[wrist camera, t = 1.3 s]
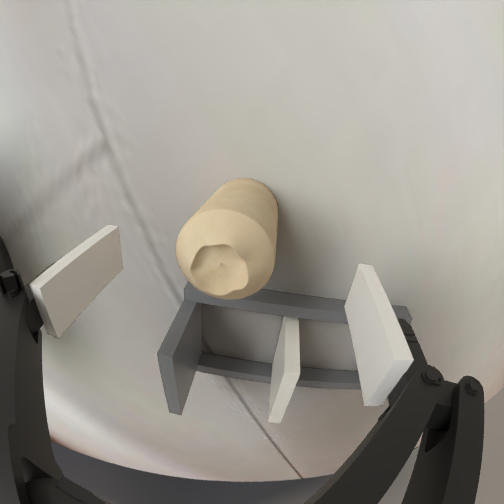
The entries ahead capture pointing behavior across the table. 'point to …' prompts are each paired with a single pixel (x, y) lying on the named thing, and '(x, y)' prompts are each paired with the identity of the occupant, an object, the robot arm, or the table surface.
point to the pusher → (284, 369)
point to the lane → (192, 359)
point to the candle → (231, 241)
